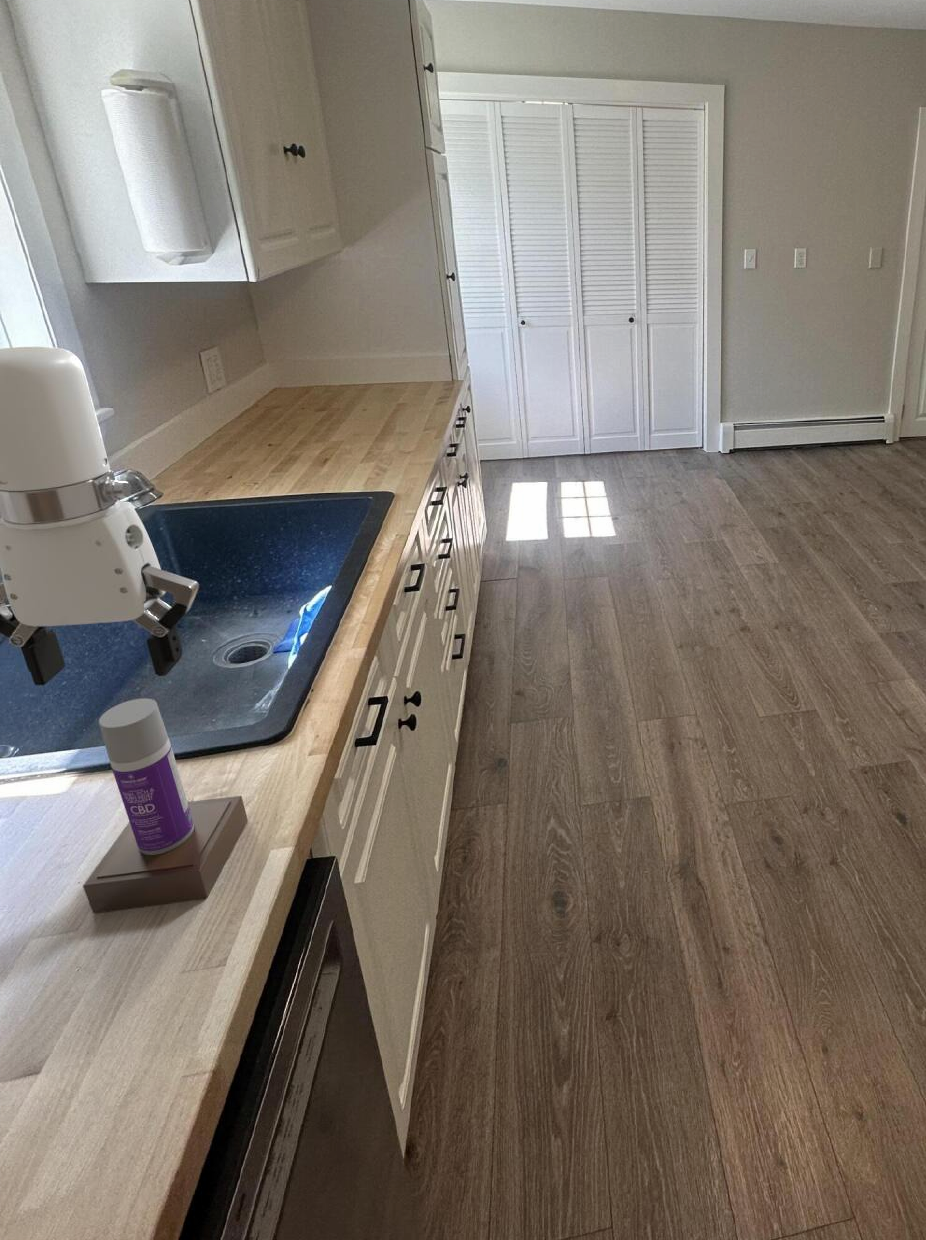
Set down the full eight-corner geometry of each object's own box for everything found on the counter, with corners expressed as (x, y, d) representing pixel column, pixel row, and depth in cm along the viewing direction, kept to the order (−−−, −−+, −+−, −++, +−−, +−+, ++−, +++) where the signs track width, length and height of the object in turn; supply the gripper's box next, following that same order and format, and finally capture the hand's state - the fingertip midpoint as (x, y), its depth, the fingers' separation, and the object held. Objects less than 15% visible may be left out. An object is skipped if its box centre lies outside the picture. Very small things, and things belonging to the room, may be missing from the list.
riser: (92, 913, 70) (81, 885, 69) (147, 832, 79) (139, 806, 78) (207, 898, 72) (198, 870, 70) (248, 820, 81) (241, 794, 80)
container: (140, 863, 71) (97, 735, 66) (136, 833, 74) (96, 710, 69) (197, 839, 74) (160, 714, 69) (191, 811, 77) (156, 691, 72)
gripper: (193, 479, 67) (231, 643, 72) (-26, 487, 64) (31, 657, 69) (150, 508, 60) (195, 687, 65) (-98, 519, 57) (-29, 705, 62)
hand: (110, 672), depth 67 cm, fingers open, 9 cm apart
